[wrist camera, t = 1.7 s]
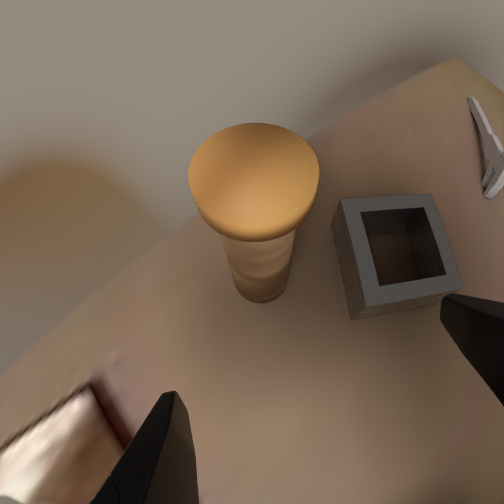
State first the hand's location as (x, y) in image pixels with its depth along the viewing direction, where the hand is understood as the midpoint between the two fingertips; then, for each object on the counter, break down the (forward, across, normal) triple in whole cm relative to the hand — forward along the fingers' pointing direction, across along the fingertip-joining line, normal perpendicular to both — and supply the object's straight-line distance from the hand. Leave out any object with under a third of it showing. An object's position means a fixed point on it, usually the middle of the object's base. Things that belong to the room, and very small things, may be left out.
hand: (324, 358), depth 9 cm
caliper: (+21, -32, -2) cm, 39 cm away
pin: (+15, 0, +4) cm, 15 cm away
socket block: (+13, -10, +6) cm, 18 cm away
